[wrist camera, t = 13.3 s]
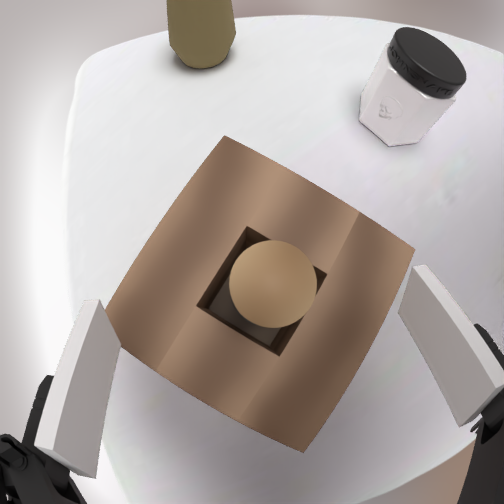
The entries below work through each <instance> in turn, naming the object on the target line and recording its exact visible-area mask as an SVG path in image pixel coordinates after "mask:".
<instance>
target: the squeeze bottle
mask: <svg viewBox="0 0 504 504" xmlns="http://www.w3.org/2000/svg"><path fill="white" fill-rule="evenodd" d="M167 15H168V30H169V41H170V46H171V47H172V49H173V50H174V51H175V52H176V54H177V55H178V56H179V58H180V59H181V60H182V61H183V62H184V63H185V64H186V65H187V66H189V67H192V68H208V67H213V66H215V65H217V64H220V63H221V62H222V61H223V60H224V59H225V58H226V56H227V54H228V52H229V49H230V47H231V45H232V43H233V40H234V37H235V35H236V30H235V23H234V16H233V10H232V3H231V0H167Z"/></svg>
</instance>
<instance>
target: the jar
mask: <svg viewBox="0 0 504 504" xmlns="http://www.w3.org/2000/svg"><path fill="white" fill-rule="evenodd" d="M465 81H466V71H465V69H464V66H463V65H462V63H461V61H460V60H459V58H458V57H457V56H456V55H455V54H454V52H453V51H452V50H451V49H450V48H448V47H447V46H446V45H445V44H444V43H442V42H441V41H440V40H438V39H437V38H435V37H434V36H432V35H430V34H428V33H426V32H424V31H421V30H418V29H415V28H410V27H403V28H400V29H398V30H397V31H396V32H395V34H394V36H393V38H392V40H391V42H390V43H387V44H386V45H385V48H384V50H383V52H382V54H381V56H380V58H379V60H378V62H377V64H376V66H375V68H374V70H373V72H372V74H371V76H370V78H369V80H368V82H367V84H366V86H365V88H364V90H363V92H362V94H361V103H360V116H359V120H360V122H361V123H363V124H364V125H365V126H366V127H367V128H369V129H370V130H371V131H372V132H373V133H374V134H376V135H377V136H378V137H379V138H380V139H381V140H382V141H383V142H385V143H386V144H387V145H388V146H396V145H404V144H412V143H418V142H419V141H420V139H421V138H422V137H423V136H424V135H425V134H426V133H427V132H428V131H429V130H430V129H431V127H432V126H433V125H434V124H435V123H436V122H437V121H438V120H439V119H440V117H441V116H442V115H443V114H444V113H445V112H446V111H447V110H448V108H449V107H450V106H451V105H452V104H453V103H454V102H455V101H456V97H455V94H456V92H457V91H458V90H459V89H460V88H461V87H462V85H463V84H464V83H465Z"/></svg>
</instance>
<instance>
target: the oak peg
mask: <svg viewBox="0 0 504 504" xmlns="http://www.w3.org/2000/svg"><path fill="white" fill-rule="evenodd" d="M229 288H230V297H231V301H232V304H233V306H234V308H235V310H236V312H237V313H238V314H239V315H240V316H241V317H242V318H243V319H244V320H246V321H247V322H249V323H251V324H254V325H257V326H263V327H268V328H279V327H284V326H287V325H290V324H292V323H294V322H296V321H297V320H299V319H300V318H301V317H303V316H304V315H305V314H306V312H307V311H308V310H309V309H310V307H311V305H312V303H313V301H314V298H315V295H316V290H317V279H316V274H315V270H314V268H313V266H312V263H311V262H310V260H309V259H308V257H307V256H306V255H305V254H304V253H303V252H302V251H301V250H300V249H298V248H297V247H295V246H293V245H291V244H289V243H286V242H282V241H276V240H269V241H263V242H259V243H257V244H254V245H252V246H250V247H249V248H247V249H246V250H245V251H244V252H243V253H242V254H241V255H240V256H239V257H238V258H237V260H236V261H235V263H234V265H233V267H232V270H231V274H230V280H229Z"/></svg>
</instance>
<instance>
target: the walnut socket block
mask: <svg viewBox="0 0 504 504" xmlns="http://www.w3.org/2000/svg"><path fill="white" fill-rule="evenodd" d="M269 240H276V241H282V242H286V243H289V244H291V245H293V246H295V247H297V248H298V249H300V250H301V251H302V252H303V253H304V254H305V255H306V256H307V257H308V259H309V260H310V262H311V263H312V266H313V268H314V270H315V274H316V279H317V290H316V295H315V298H314V301H313V303H312V305H311V307H310V309H309V310H308V311H307V312H306V314H305V315H304V316H303V317H301V318H300V319H299V320H297V321H296V322H294V323H292V324H290V325H287V326H284V327H279V328H268V327H263V326H257V325H254V324H251V323H249V322H247V321H246V320H244V319H243V318H242V317H241V316H240V315H239V314H238V313H237V312H236V310H235V308H234V306H233V304H232V301H231V297H230V288H229V280H230V274H231V270H232V267H233V265H234V263H235V261H236V260H237V258H238V257H239V256H240V255H241V254H242V253H243V252H244V251H245V250H246V249H247V248H249V247H250V246H252V245H254V244H257V243H259V242H263V241H269ZM414 251H415V249H414V248H413V247H411V246H410V245H408V244H407V243H405V242H404V241H403V240H401V239H400V238H398V237H397V236H395V235H394V234H392V233H391V232H390V231H388V230H387V229H385V228H384V227H382V226H381V225H379V224H378V223H376V222H375V221H373V220H372V219H370V218H368V217H367V216H365V215H364V214H362V213H361V212H359V211H358V210H356V209H354V208H353V207H351V206H350V205H348V204H347V203H345V202H343V201H342V200H340V199H338V198H337V197H335V196H334V195H332V194H330V193H329V192H327V191H325V190H324V189H322V188H320V187H319V186H317V185H315V184H314V183H312V182H310V181H308V180H307V179H305V178H303V177H302V176H300V175H298V174H296V173H295V172H293V171H291V170H289V169H287V168H286V167H284V166H282V165H280V164H278V163H277V162H275V161H273V160H271V159H269V158H267V157H265V156H264V155H262V154H260V153H258V152H256V151H254V150H252V149H250V148H248V147H246V146H245V145H243V144H241V143H239V142H237V141H235V140H233V139H231V138H229V137H227V136H225V135H224V137H223V138H222V139H221V140H220V142H219V143H218V144H217V145H216V147H215V148H214V149H213V150H212V152H211V153H210V154H209V156H208V157H207V158H206V159H205V161H204V162H203V163H202V165H201V166H200V167H199V169H198V170H197V171H196V173H195V174H194V175H193V177H192V178H191V179H190V181H189V182H188V183H187V185H186V186H185V187H184V189H183V190H182V192H181V193H180V194H179V196H178V197H177V199H176V200H175V201H174V203H173V204H172V206H171V207H170V208H169V210H168V211H167V213H166V214H165V216H164V217H163V218H162V220H161V221H160V223H159V224H158V226H157V227H156V229H155V230H154V232H153V233H152V235H151V236H150V238H149V239H148V241H147V242H146V244H145V245H144V247H143V248H142V250H141V251H140V253H139V255H138V256H137V258H136V259H135V261H134V262H133V264H132V266H131V267H130V269H129V270H128V272H127V274H126V275H125V277H124V279H123V280H122V282H121V283H120V285H119V287H118V288H117V290H116V292H115V293H114V295H113V297H112V299H111V300H110V302H109V304H108V305H107V307H106V309H105V312H106V314H107V316H108V318H109V321H110V323H111V325H112V327H113V329H114V331H115V333H116V335H117V337H118V339H119V341H120V343H121V347H122V348H124V349H125V350H126V351H128V352H129V353H130V354H132V355H133V356H134V357H136V358H137V359H139V360H140V361H141V362H143V363H144V364H146V365H147V366H148V367H150V368H151V369H153V370H154V371H156V372H157V373H158V374H160V375H161V376H163V377H164V378H166V379H167V380H169V381H170V382H172V383H173V384H175V385H176V386H178V387H180V388H181V389H183V390H184V391H186V392H187V393H189V394H191V395H192V396H194V397H196V398H197V399H199V400H201V401H202V402H204V403H206V404H207V405H209V406H211V407H212V408H214V409H216V410H218V411H219V412H221V413H223V414H225V415H227V416H228V417H230V418H232V419H234V420H236V421H238V422H239V423H241V424H243V425H245V426H247V427H249V428H251V429H253V430H255V431H257V432H259V433H261V434H263V435H265V436H267V437H269V438H271V439H273V440H275V441H278V442H280V443H282V444H284V445H286V446H289V447H291V448H293V449H295V450H298V451H300V452H302V453H304V451H305V450H306V449H307V447H308V446H309V445H310V443H311V442H312V440H313V439H314V438H315V436H316V435H317V433H318V432H319V431H320V429H321V428H322V426H323V425H324V423H325V422H326V420H327V419H328V417H329V416H330V414H331V413H332V411H333V410H334V408H335V407H336V405H337V403H338V402H339V400H340V399H341V397H342V395H343V394H344V392H345V391H346V389H347V387H348V386H349V384H350V382H351V381H352V379H353V377H354V376H355V374H356V372H357V370H358V369H359V367H360V365H361V363H362V362H363V360H364V358H365V356H366V354H367V352H368V351H369V349H370V347H371V345H372V343H373V341H374V339H375V337H376V335H377V334H378V332H379V330H380V328H381V326H382V324H383V322H384V320H385V318H386V315H387V313H388V311H389V309H390V307H391V305H392V303H393V301H394V298H395V296H396V294H397V292H398V290H399V287H400V285H401V283H402V280H403V278H404V276H405V273H406V271H407V269H408V266H409V264H410V261H411V259H412V256H413V254H414Z"/></svg>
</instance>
